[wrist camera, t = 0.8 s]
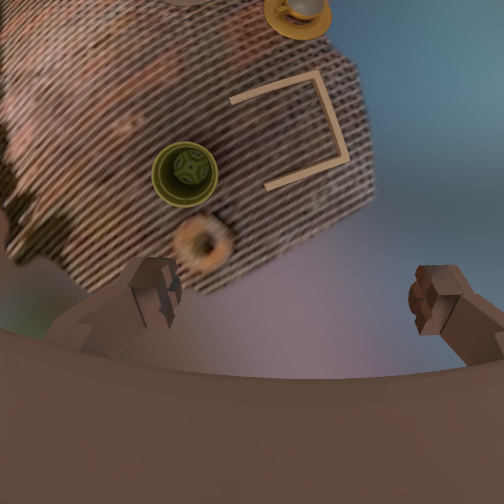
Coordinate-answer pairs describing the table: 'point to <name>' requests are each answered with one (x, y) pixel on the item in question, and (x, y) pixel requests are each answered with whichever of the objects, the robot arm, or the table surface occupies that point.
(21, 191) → the table surface
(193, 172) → the plant pot
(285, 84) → the frame
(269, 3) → the cup
